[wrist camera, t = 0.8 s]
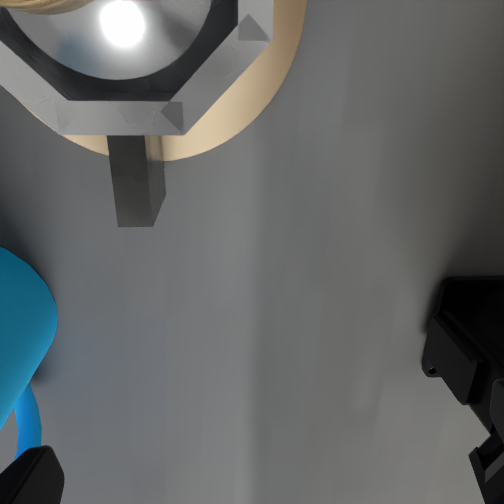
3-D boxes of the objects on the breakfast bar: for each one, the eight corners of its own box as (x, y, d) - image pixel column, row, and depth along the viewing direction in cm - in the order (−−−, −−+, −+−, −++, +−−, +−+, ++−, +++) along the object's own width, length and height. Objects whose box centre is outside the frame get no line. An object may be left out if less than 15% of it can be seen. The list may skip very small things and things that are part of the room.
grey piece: (261, -168, 14) (282, -279, 9) (255, 189, 19) (266, 229, 15) (-24, -184, 13) (-149, -312, 9) (48, 191, 18) (-7, 232, 14)
